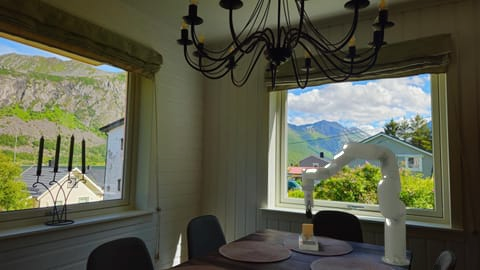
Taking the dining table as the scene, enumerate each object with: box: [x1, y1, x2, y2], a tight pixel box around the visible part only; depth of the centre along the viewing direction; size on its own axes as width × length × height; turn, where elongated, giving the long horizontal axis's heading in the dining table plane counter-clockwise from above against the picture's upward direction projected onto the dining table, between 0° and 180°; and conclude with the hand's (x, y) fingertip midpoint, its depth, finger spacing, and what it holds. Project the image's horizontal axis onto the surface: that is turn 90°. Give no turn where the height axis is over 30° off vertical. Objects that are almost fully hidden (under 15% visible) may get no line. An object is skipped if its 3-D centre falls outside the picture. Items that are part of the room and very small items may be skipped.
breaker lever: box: [302, 223, 314, 239], centre depth 188 cm, size 2×6×8 cm, turn 81°
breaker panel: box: [298, 232, 319, 252], centre depth 184 cm, size 20×10×5 cm, turn 171°
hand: (308, 217), depth 188 cm, fingers open, 9 cm apart
